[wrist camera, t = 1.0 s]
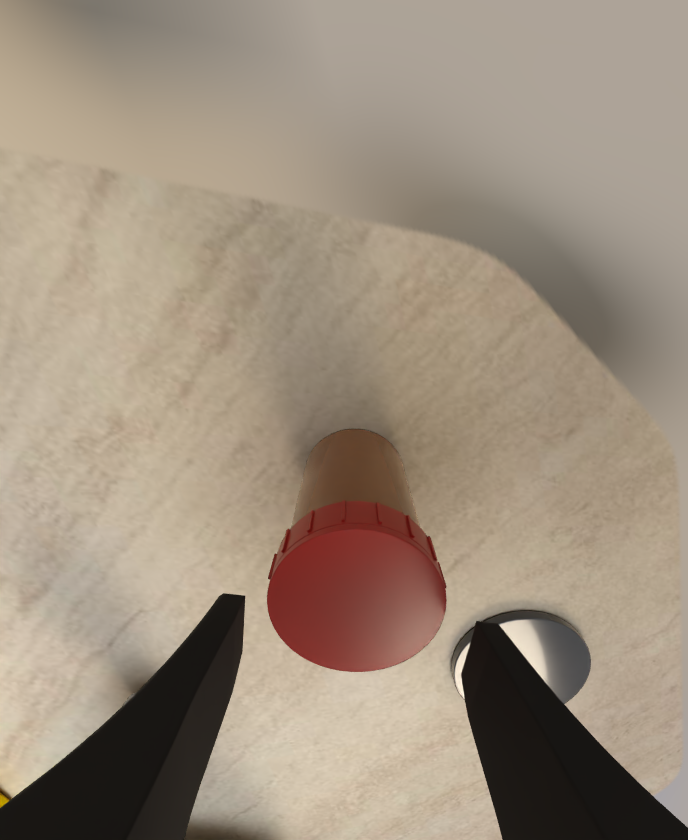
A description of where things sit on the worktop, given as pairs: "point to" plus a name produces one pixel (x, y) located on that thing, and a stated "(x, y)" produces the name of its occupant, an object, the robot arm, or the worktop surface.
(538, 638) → the coaster
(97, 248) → the worktop surface
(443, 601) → the lid
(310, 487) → the jar
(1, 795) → the element tile
